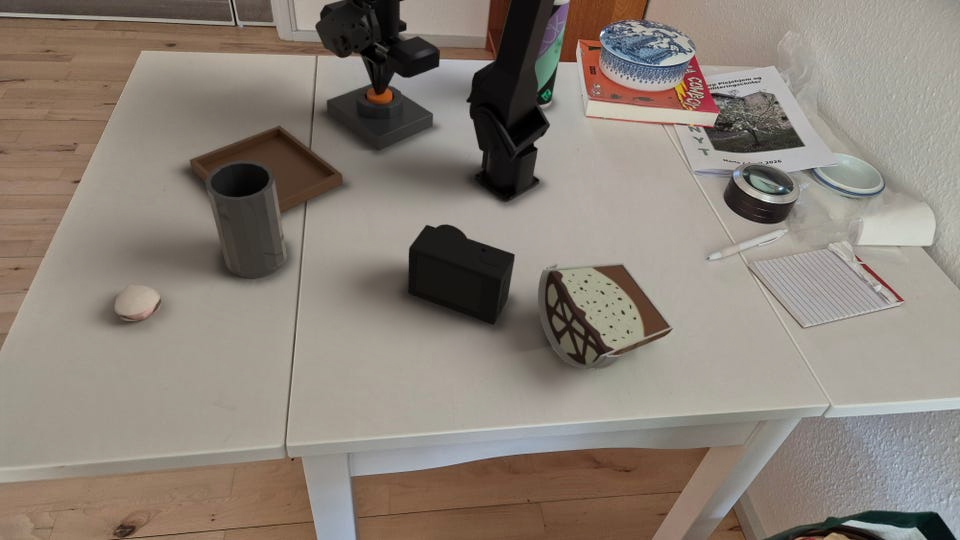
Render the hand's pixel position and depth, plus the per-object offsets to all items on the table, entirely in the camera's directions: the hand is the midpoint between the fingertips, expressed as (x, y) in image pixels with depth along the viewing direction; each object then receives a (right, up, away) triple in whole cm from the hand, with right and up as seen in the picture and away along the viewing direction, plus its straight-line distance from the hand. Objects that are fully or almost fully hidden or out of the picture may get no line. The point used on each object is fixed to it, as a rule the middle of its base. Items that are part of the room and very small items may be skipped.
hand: (379, 93), depth 95 cm
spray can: (+23, +2, +11) cm, 25 cm away
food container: (+31, -30, -23) cm, 49 cm away
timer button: (0, -1, +1) cm, 2 cm away
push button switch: (0, -3, +3) cm, 4 cm away
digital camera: (+12, -28, -20) cm, 37 cm away
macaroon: (-21, -29, -26) cm, 44 cm away
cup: (-11, -24, -19) cm, 33 cm away
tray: (-13, -13, -9) cm, 21 cm away
